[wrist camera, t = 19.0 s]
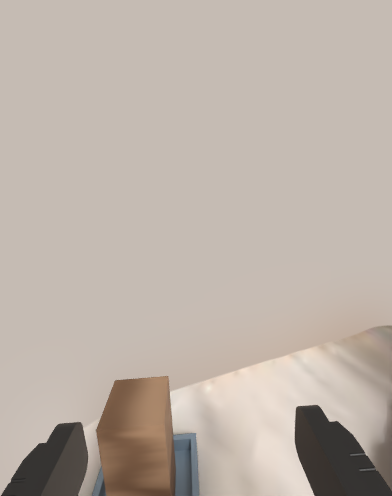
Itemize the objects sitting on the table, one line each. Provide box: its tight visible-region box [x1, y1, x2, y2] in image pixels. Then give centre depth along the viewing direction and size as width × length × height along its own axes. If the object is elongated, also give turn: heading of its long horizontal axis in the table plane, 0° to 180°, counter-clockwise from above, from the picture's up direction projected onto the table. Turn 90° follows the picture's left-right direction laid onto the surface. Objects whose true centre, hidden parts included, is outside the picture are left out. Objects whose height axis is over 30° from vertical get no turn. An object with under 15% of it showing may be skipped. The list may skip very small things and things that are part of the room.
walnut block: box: [96, 376, 176, 496], centre depth 21 cm, size 5×5×11 cm
